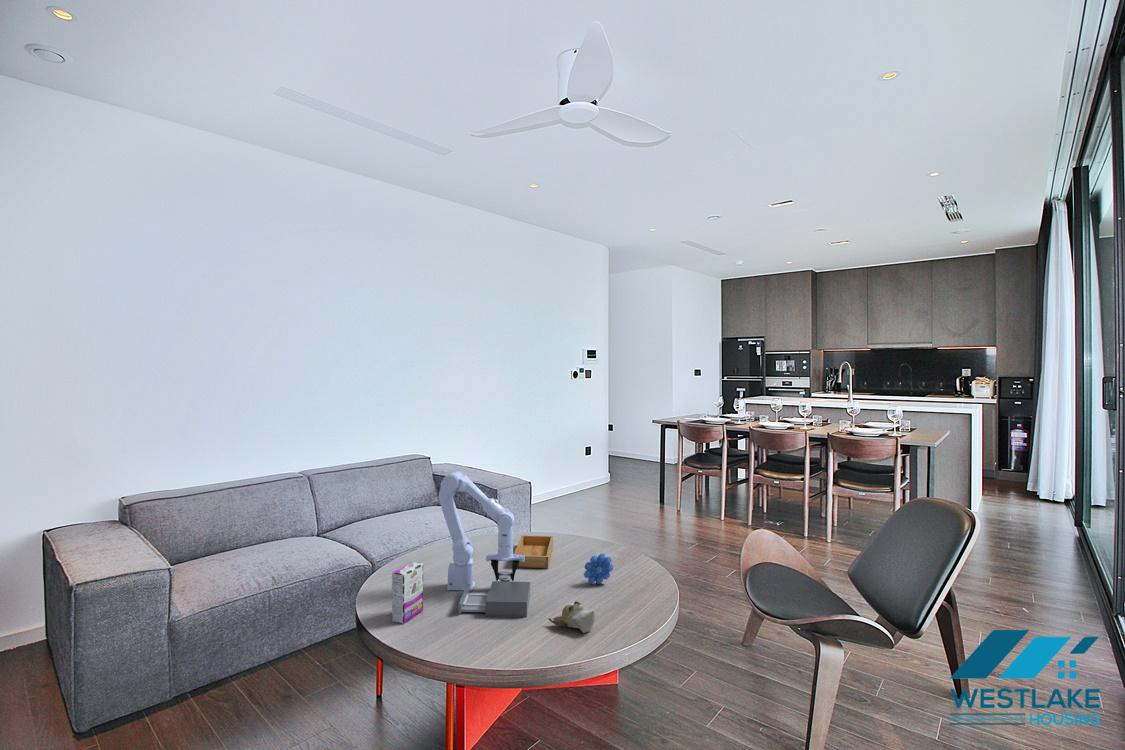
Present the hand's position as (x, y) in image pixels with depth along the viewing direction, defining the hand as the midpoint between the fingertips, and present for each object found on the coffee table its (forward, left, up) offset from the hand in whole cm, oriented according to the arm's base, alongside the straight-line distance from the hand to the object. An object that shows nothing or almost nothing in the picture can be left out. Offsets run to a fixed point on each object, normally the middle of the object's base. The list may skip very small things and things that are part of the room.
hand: (505, 579), depth 208 cm
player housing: (+3, -15, -3) cm, 16 cm away
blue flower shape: (+36, +7, -3) cm, 37 cm away
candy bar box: (-30, -25, -3) cm, 39 cm away
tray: (+9, +37, -4) cm, 38 cm away
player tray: (-6, -15, -3) cm, 17 cm away
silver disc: (0, 0, +1) cm, 1 cm away
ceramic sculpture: (+26, -30, -4) cm, 40 cm away
